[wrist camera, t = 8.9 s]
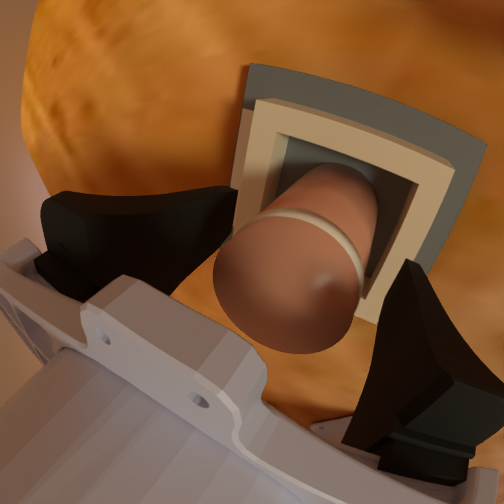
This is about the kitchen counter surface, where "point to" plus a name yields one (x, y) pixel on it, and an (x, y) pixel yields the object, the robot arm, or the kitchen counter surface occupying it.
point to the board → (355, 164)
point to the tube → (301, 262)
